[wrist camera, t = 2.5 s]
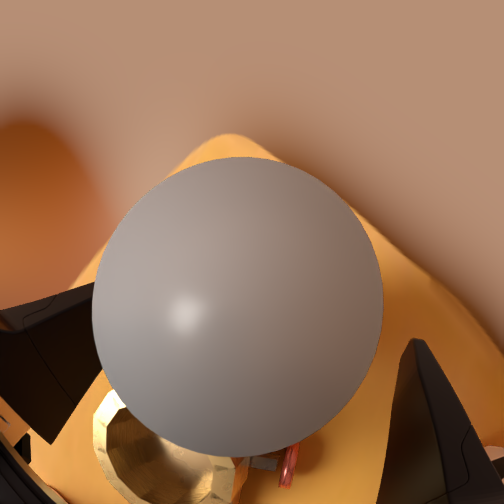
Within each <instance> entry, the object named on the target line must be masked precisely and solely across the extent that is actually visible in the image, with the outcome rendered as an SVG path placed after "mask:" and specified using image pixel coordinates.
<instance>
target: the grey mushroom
mask: <svg viewBox="0 0 504 504" xmlns="http://www.w3.org/2000/svg"><path fill="white" fill-rule="evenodd" d="M383 308H384V306H383V285H382V279H381V274H380V269H379V264H378V260H377V258H376V255H375V252H374V249H373V246H372V244H371V241H370V239H369V237H368V235H367V233H366V232H365V230H364V228H363V226H362V224H361V222H360V221H359V220H358V218H357V217H356V216H355V214H354V213H353V211H352V210H351V209H350V207H349V206H348V205H347V204H346V203H345V202H344V201H343V200H342V199H341V198H340V197H339V196H338V195H337V194H336V193H335V192H334V191H333V190H332V189H330V188H329V187H328V186H326V185H325V184H324V183H322V182H321V181H320V180H318V179H317V178H315V177H313V176H311V175H309V174H308V173H306V172H304V171H302V170H300V169H297V168H295V167H292V166H290V165H287V164H285V163H281V162H277V161H273V160H268V159H261V158H252V157H231V158H224V159H217V160H212V161H208V162H204V163H200V164H197V165H194V166H192V167H189V168H187V169H184V170H182V171H180V172H178V173H176V174H174V175H172V176H170V177H169V178H167V179H165V180H164V181H162V182H161V183H159V184H158V185H157V186H155V187H154V188H152V189H151V190H150V191H149V192H148V193H147V194H145V195H144V196H143V197H142V198H141V199H140V200H139V201H138V202H137V203H136V204H135V205H134V206H133V207H132V208H131V209H130V210H129V212H128V213H127V214H126V215H125V217H124V218H123V220H122V221H121V222H120V223H119V225H118V227H117V228H116V230H115V231H114V233H113V235H112V237H111V238H110V240H109V242H108V244H107V247H106V249H105V251H104V253H103V256H102V259H101V262H100V265H99V267H98V271H97V275H96V280H95V284H94V291H93V300H92V324H93V333H94V339H95V344H96V348H97V353H98V356H99V359H100V362H101V364H102V367H103V370H104V372H105V374H106V376H107V378H108V380H109V382H110V384H111V386H112V388H113V389H114V391H115V392H116V394H117V395H118V397H119V398H120V400H121V401H122V402H123V404H124V405H125V406H126V407H127V408H128V410H129V411H130V412H131V413H132V414H133V415H134V416H135V417H136V418H137V419H138V420H139V421H140V422H141V423H143V424H144V425H145V426H146V427H147V428H149V429H150V430H152V431H153V432H154V433H156V434H157V435H159V436H160V437H162V438H164V439H166V440H168V441H169V442H171V443H173V444H175V445H177V446H180V447H183V448H185V449H188V450H191V451H194V452H197V453H202V454H207V455H212V456H219V457H247V456H256V455H262V454H266V453H270V452H274V451H277V450H281V449H283V448H286V447H288V446H290V445H293V444H295V443H297V442H299V441H301V440H303V439H305V438H306V437H308V436H310V435H311V434H313V433H314V432H316V431H318V430H319V429H321V428H322V427H323V426H324V425H325V424H327V423H328V422H329V421H330V420H331V419H332V418H334V417H335V416H336V415H337V414H338V413H339V412H340V411H341V410H342V408H343V407H344V406H345V405H346V404H347V403H348V401H349V400H350V399H351V398H352V397H353V395H354V394H355V392H356V391H357V389H358V388H359V386H360V384H361V383H362V381H363V379H364V378H365V376H366V374H367V372H368V369H369V367H370V365H371V363H372V360H373V358H374V355H375V353H376V349H377V345H378V341H379V337H380V333H381V328H382V318H383Z"/></svg>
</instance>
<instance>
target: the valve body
mask: <svg viewBox="0 0 504 504" xmlns="http://www.w3.org/2000/svg"><path fill="white" fill-rule="evenodd" d="M93 447H94V448H95V449H94V451H95V453H96V456H97V458H98V460H99V462H100V465H101V467H102V469H103V471H104V473H105V475H106V478H107V480H110V481H109V482H110V483H111V485H112V486H113V487H114V488H115V489H116V490H117V491H118V492H119V493H120V494H121V495H122V496H123V497H124V498H125V499H126V500H127V501H128V502H129V503H130V504H239V500H240V495H241V489H242V485H243V484H244V482H245V481H246V479H247V475H248V469H249V467H253V468H258V469H264V470H270V471H276V468H277V466H278V461H279V455H278V454H271V453H266V454H262V455H256V456H247V457H219V456H212V455H207V454H202V453H197V452H194V451H191V450H188V449H185V448H183V447H180V446H177V445H175V444H173V443H171V442H169V441H168V440H166V439H164V438H162V437H160V436H159V435H157V434H156V433H154V432H153V431H152V430H150V429H149V428H147V427H146V426H145V425H144V424H143V423H141V422H140V421H139V420H138V419H137V418H136V417H135V416H134V415H133V414H132V413H131V412H130V411H129V410H128V408H127V407H126V406H125V405H124V404H123V402H122V401H121V400H120V398H119V397H118V395H117V394H116V392H115V391H114V390H113V391H110V392H109V393H108V394H107V396H106V397H105V399H104V400H103V402H102V403H101V405H100V406H99V408H98V410H97V411H96V413H95V414H94V417H93ZM299 447H300V442H297V443H295V444H293V445H290V446H288V447H287V450H286V453H285V457H284V461H283V466H282V470H281V475H280V480H279V487H280V488H287V489H290V486H291V483H292V479H293V475H294V471H295V466H296V462H297V457H298V452H299Z"/></svg>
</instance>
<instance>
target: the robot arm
mask: <svg viewBox="0 0 504 504" xmlns="http://www.w3.org/2000/svg"><path fill="white" fill-rule="evenodd" d="M94 284H95V282H92V283H89V284H86V285H83V286H80V287H77V288H74V289H71V290H68V291H65V292H62V293H59V294H57V295H53V296H50V297H47V298H43V299H41V300H37V301H34V302H30V303H26V304H23V305H19V306H15V307H11V308H8V309H3V310H0V504H67V503H66V502H65V501H63V500H62V499H61V498H60V497H59V496H58V495H57V494H56V493H55V492H54V491H53V490H52V489H51V488H50V487H49V486H48V485H47V484H46V483H45V482H44V481H43V480H42V479H41V478H40V477H39V476H38V475H37V474H36V473H35V472H34V471H33V470H32V469H31V468H30V467H29V465H28V464H29V463H30V462H31V446H30V435H29V434H28V433H27V431H28V430H29V429H30V428H32V429H33V430H34V431H35V432H36V433H37V434H38V435H40V436H41V437H42V438H43V439H44V440H45V441H46V442H48V443H49V444H50V445H51V444H52V443H53V442H54V441H55V439H56V437H57V436H58V434H59V433H60V431H61V430H62V428H63V426H64V425H65V423H66V422H67V420H68V419H69V417H70V416H71V414H72V413H73V411H74V410H75V408H76V406H77V405H78V403H79V402H80V400H81V399H82V398H83V396H84V395H85V393H86V392H87V390H88V389H89V387H90V386H91V384H92V383H93V382H94V380H95V379H96V377H97V376H98V374H99V373H100V372H101V370H102V369H103V367H102V364H101V362H100V359H99V356H98V353H97V348H96V344H95V339H94V333H93V324H92V300H93V291H94ZM376 504H504V484H503V482H502V480H501V478H500V476H499V474H498V472H497V471H496V469H495V467H494V465H493V464H492V462H491V460H490V458H489V456H488V455H487V453H486V451H485V449H484V447H483V445H482V443H481V441H480V439H479V437H478V435H477V433H476V431H475V429H474V427H473V425H471V421H470V420H469V418H468V416H467V414H466V412H465V410H464V408H463V406H462V404H461V402H460V400H459V399H458V397H457V395H456V393H455V391H454V389H453V388H452V386H451V384H450V382H449V381H448V379H447V377H446V375H445V374H444V372H443V370H442V369H441V367H440V365H439V364H438V362H437V360H436V359H435V357H434V355H433V354H432V352H431V350H430V349H429V347H428V346H427V344H426V342H425V341H424V340H422V339H417V338H412V339H411V340H410V341H409V343H408V345H407V347H406V349H405V350H404V352H403V354H402V356H401V359H400V363H399V370H398V376H397V381H396V387H395V392H394V397H393V403H392V410H391V420H390V429H389V437H388V444H387V450H386V457H385V463H384V468H383V474H382V479H381V484H380V488H379V493H378V497H377V501H376Z"/></svg>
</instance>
